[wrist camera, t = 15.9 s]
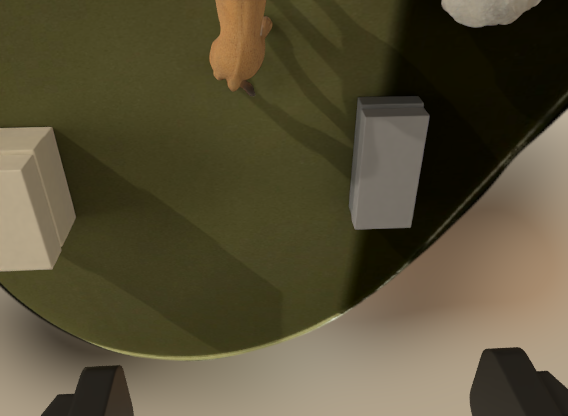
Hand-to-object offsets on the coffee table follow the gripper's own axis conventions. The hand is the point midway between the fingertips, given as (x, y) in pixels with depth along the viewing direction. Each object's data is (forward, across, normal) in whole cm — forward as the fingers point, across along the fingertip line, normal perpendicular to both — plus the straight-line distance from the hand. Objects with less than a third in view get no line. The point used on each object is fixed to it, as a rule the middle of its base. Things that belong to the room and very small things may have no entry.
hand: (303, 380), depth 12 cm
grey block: (+28, -9, +9) cm, 31 cm away
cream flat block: (+24, +18, +10) cm, 32 cm away
